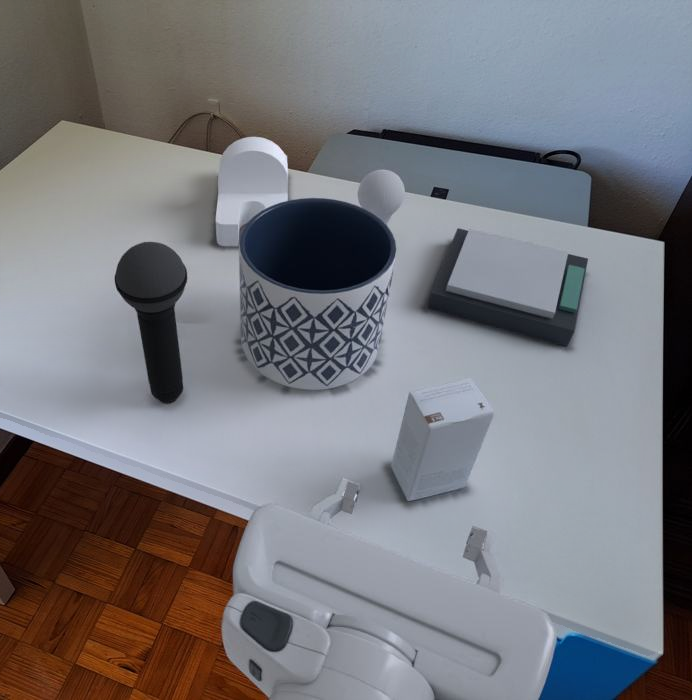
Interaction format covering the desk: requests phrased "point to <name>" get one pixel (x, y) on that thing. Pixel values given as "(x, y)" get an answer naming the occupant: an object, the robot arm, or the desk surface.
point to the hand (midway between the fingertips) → (414, 508)
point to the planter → (314, 291)
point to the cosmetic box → (440, 438)
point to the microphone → (155, 311)
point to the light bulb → (381, 193)
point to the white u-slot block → (248, 184)
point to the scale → (511, 285)
